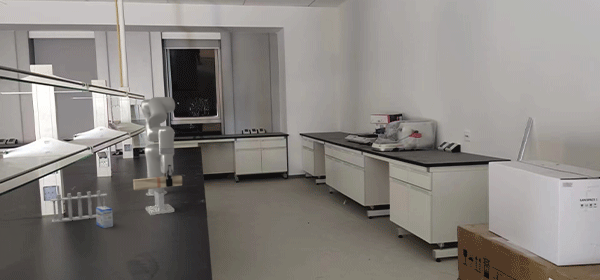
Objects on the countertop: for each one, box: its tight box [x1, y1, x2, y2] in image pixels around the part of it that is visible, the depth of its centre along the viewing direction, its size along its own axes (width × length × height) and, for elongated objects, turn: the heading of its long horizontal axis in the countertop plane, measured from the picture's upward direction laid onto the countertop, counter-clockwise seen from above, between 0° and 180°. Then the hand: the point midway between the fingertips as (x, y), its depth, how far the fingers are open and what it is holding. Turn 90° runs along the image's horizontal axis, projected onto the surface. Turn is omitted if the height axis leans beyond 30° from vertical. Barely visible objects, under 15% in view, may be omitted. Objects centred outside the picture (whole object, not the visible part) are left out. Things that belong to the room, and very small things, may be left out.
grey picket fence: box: [50, 190, 108, 224], centre depth 218 cm, size 25×4×13 cm, turn 115°
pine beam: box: [132, 174, 183, 191], centre depth 229 cm, size 4×24×5 cm, turn 119°
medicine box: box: [95, 205, 114, 229], centre depth 203 cm, size 8×4×9 cm, turn 47°
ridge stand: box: [145, 190, 175, 216], centre depth 230 cm, size 14×12×10 cm
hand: (168, 185), depth 232 cm, fingers closed on pine beam, 4 cm apart
